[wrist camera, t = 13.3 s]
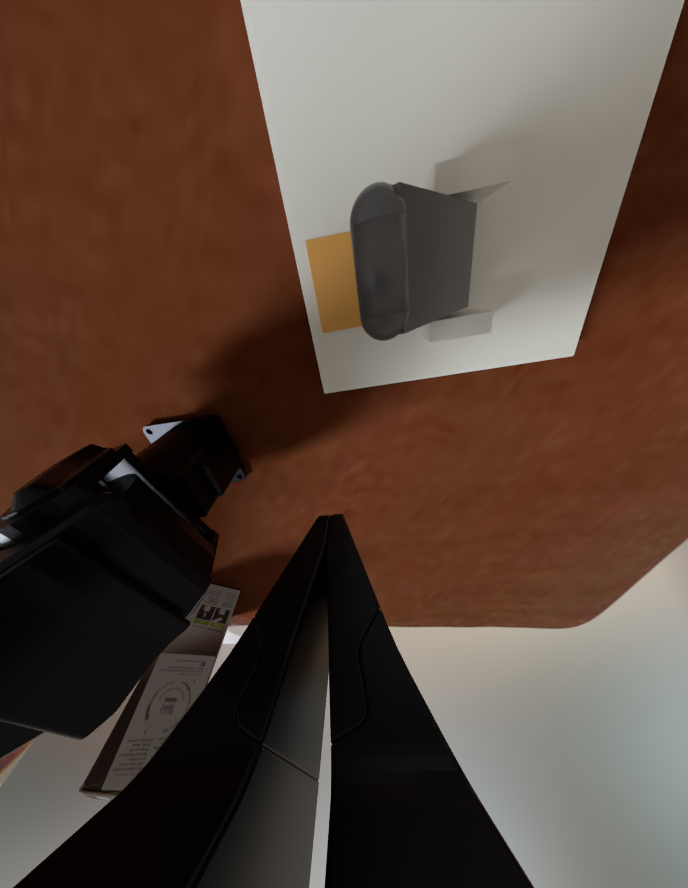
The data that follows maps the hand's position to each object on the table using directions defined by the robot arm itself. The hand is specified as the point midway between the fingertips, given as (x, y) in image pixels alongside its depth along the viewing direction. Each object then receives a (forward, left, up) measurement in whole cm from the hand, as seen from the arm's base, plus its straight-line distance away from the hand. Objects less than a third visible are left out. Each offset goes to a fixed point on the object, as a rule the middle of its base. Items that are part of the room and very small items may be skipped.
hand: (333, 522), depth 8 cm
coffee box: (-23, -27, -12) cm, 38 cm away
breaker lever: (+7, +7, -10) cm, 14 cm away
